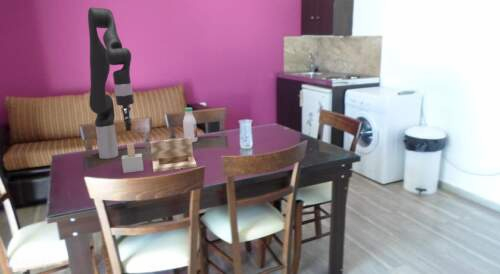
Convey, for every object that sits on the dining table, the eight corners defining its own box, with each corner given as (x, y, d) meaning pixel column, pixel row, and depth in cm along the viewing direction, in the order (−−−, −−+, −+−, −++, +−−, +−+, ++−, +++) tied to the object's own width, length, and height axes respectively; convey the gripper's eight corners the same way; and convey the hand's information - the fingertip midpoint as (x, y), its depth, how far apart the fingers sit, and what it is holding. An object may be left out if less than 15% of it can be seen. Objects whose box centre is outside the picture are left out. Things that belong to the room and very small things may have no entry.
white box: (123, 173, 180) (119, 146, 177) (124, 169, 185) (120, 143, 181) (143, 170, 182) (140, 144, 179) (143, 167, 187) (140, 141, 183)
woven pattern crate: (153, 172, 179) (150, 149, 176) (152, 163, 192) (150, 141, 189) (196, 166, 184) (194, 144, 181) (192, 158, 197) (191, 137, 194)
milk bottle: (191, 143, 223) (188, 109, 218) (181, 142, 227) (178, 108, 222) (200, 140, 230) (197, 107, 224) (190, 139, 234) (187, 106, 228)
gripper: (116, 92, 180) (121, 126, 184) (114, 96, 167) (119, 133, 171) (132, 91, 182) (137, 124, 186) (132, 95, 168) (137, 131, 173)
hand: (128, 128), depth 178 cm, fingers open, 8 cm apart
